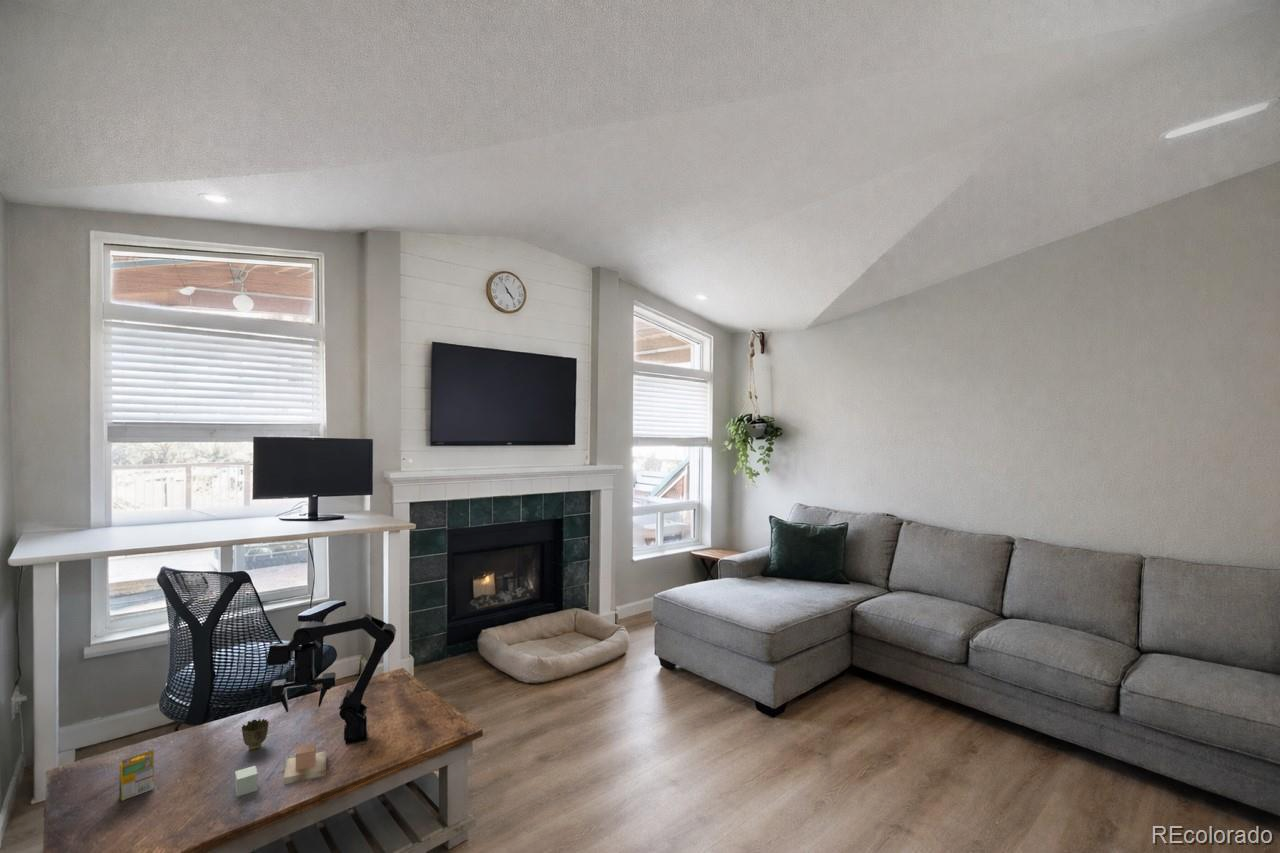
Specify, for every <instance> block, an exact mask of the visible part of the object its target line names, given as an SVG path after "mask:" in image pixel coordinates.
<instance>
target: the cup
mask: <svg viewBox="0 0 1280 853" xmlns="http://www.w3.org/2000/svg"><path fill="white" fill-rule="evenodd" d="M268 730H269V720H267V719H266V718H263V719H261V718H259V719H258V720H257V719H254V718H253V719H252V720H251V721H250V720H248V722H247V723H246V724H242V726H241V733H242V740H243V743H244V744H245V745H246V746H248V747H247V749H248V750H249V751H257V750H259V749H261V747H262V745H263V744H262V743H263V742H264V741H265V740H266V739H267V736H268Z"/></svg>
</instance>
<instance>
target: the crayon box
mask: <svg viewBox="0 0 1280 853" xmlns="http://www.w3.org/2000/svg"><path fill="white" fill-rule="evenodd" d="M154 750H155V749H152V750H148V751H145V752H142V753H139V754H136V755H133V756H130V757H127V758H124V759H121V762H119V791H118V792H119V793H118V796H119V797H118V798H119V799H120V801H121V802H123V801H125V800H127V799H131V798H133V797H136V796H138V795H141V794H144V793H147V792H150V791H153V790H154V789H155V788H154V787H155V786H154V784H155V783H154V782H155V781H154V780H155V779H154V778H155V775H154V772H155V767H154V766H155V765H154V764H155V763H154V762H155V759H154V755H155V754H154Z"/></svg>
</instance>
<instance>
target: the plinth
mask: <svg viewBox="0 0 1280 853" xmlns="http://www.w3.org/2000/svg"><path fill="white" fill-rule="evenodd" d="M327 753H328V752H327V750H324V751H319V752H316V759H315V766H314V767H312V768H307V769H302V770H297V771H296V756H294V757H291V758H290V757H289V758H286V761H285V762H286V763H285V769H284V775H283V785H287V784H291V783H296V782H300V781H306V780H311V779H314V778H319V777H325V776H326V775H327V774H326V773H327V772H326V771H327V770H326V769H327Z"/></svg>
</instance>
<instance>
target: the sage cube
mask: <svg viewBox="0 0 1280 853" xmlns="http://www.w3.org/2000/svg"><path fill="white" fill-rule="evenodd" d="M258 774H259V773H258V770H257V766H256V765H252V766H249V767H245V768H243V769H238V770H235V772H234V790H235V794H236V798H237V797H241V796H244V795H247V794H250V793H253V792H256V791H258V776H259V775H258Z"/></svg>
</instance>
